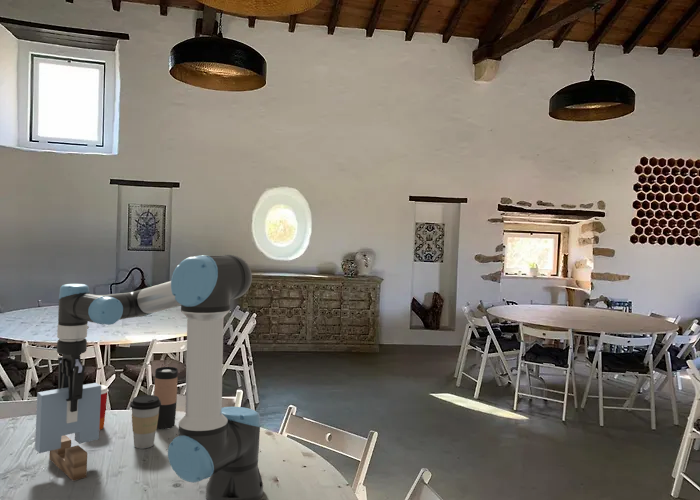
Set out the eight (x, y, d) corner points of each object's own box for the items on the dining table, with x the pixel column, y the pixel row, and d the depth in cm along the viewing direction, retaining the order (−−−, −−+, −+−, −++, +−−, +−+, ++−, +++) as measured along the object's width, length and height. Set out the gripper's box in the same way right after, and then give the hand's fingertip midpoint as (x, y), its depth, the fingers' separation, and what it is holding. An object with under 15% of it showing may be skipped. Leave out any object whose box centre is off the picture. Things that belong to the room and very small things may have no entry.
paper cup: (82, 425, 189) (84, 385, 189) (106, 423, 193) (108, 383, 192) (82, 433, 182) (83, 391, 182) (107, 431, 185) (109, 390, 185)
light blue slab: (98, 439, 162) (101, 385, 161) (39, 453, 150) (41, 395, 149) (93, 435, 164) (96, 382, 163) (35, 449, 152) (37, 392, 152)
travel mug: (153, 422, 196) (155, 366, 195) (175, 421, 198) (178, 366, 197) (152, 430, 188) (154, 372, 188) (175, 429, 191) (178, 372, 190)
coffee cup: (148, 452, 171) (151, 405, 170) (121, 448, 173) (123, 401, 172) (165, 441, 180) (167, 396, 179) (139, 437, 182) (141, 392, 181)
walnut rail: (86, 477, 152) (87, 452, 152) (73, 481, 150) (74, 455, 150) (61, 456, 165) (62, 433, 164) (49, 459, 162) (50, 435, 162)
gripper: (98, 342, 153) (94, 425, 154) (74, 332, 164) (71, 409, 165) (69, 345, 147) (66, 431, 148) (47, 334, 158) (44, 414, 160)
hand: (68, 419), depth 157 cm, fingers closed on light blue slab, 3 cm apart
